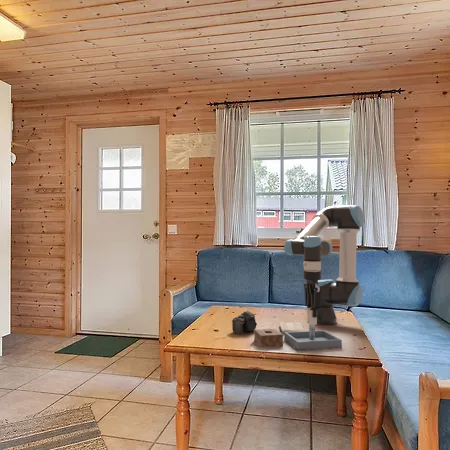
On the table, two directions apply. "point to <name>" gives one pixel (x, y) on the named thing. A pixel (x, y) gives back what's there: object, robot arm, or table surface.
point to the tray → (321, 340)
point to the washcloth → (291, 327)
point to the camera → (244, 323)
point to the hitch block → (268, 337)
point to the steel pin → (311, 329)
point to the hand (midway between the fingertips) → (312, 323)
